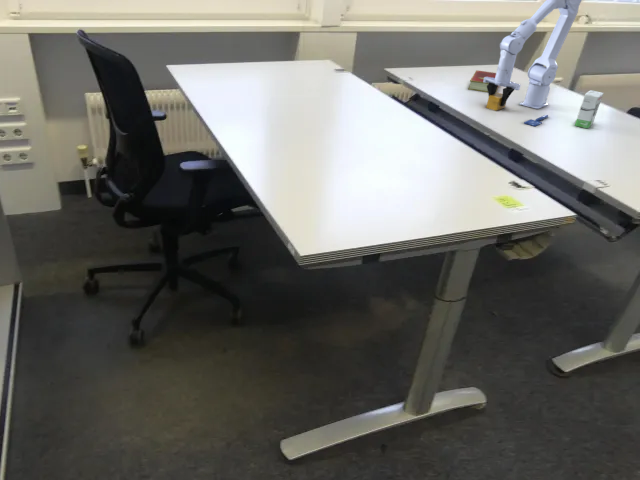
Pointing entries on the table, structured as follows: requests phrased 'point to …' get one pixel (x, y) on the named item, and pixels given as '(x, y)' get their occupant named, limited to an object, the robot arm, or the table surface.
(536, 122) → the spatula
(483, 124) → the table surface
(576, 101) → the table surface
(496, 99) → the block
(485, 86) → the hardcover book
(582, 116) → the ink box
